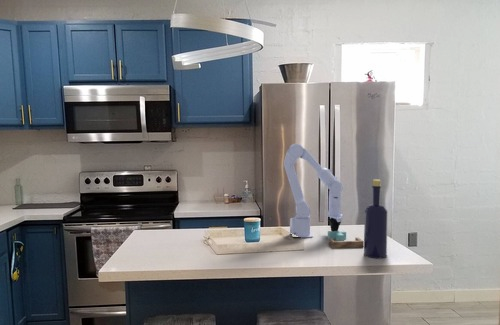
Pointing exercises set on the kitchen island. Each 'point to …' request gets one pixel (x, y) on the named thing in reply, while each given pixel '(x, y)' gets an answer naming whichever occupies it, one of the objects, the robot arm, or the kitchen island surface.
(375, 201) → the bottle
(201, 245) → the kitchen island surface
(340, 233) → the t block
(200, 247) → the kitchen island surface
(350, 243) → the wooden drawer handle
